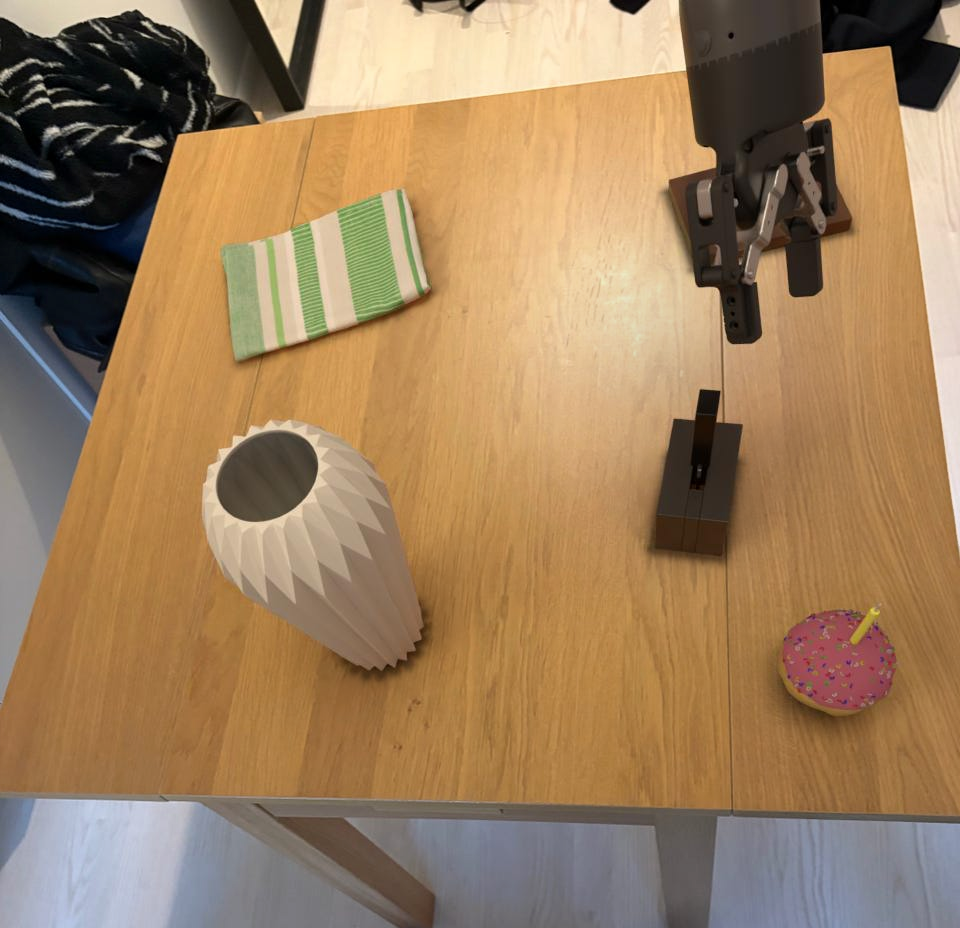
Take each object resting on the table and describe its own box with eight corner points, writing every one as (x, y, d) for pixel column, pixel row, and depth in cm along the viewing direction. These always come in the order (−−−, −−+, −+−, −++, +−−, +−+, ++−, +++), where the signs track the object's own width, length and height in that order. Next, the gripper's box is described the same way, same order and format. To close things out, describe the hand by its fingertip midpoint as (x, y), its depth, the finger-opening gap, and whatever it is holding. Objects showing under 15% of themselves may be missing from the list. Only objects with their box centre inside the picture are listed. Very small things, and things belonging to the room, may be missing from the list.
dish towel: (226, 257, 100) (216, 238, 98) (409, 199, 98) (403, 179, 96) (239, 366, 93) (228, 349, 91) (437, 306, 91) (431, 287, 89)
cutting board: (813, 153, 90) (816, 140, 89) (849, 230, 85) (852, 218, 84) (668, 191, 92) (668, 179, 90) (695, 268, 87) (696, 257, 85)
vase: (427, 712, 73) (324, 582, 49) (295, 682, 77) (139, 547, 53) (468, 580, 78) (391, 402, 54) (341, 557, 81) (216, 381, 57)
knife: (706, 492, 77) (721, 386, 63) (702, 519, 76) (716, 419, 62) (689, 490, 77) (700, 385, 63) (684, 517, 76) (694, 417, 62)
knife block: (735, 462, 77) (743, 423, 72) (721, 556, 74) (728, 522, 68) (671, 456, 79) (673, 417, 73) (654, 548, 75) (656, 514, 70)
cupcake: (815, 614, 70) (848, 547, 59) (903, 676, 67) (955, 618, 56) (750, 684, 69) (771, 629, 58) (836, 751, 66) (875, 706, 55)
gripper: (746, 47, 42) (777, 359, 50) (870, -7, 48) (877, 276, 57) (627, 84, 47) (673, 361, 56) (753, 30, 54) (776, 284, 62)
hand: (777, 317), depth 56 cm, fingers open, 8 cm apart
